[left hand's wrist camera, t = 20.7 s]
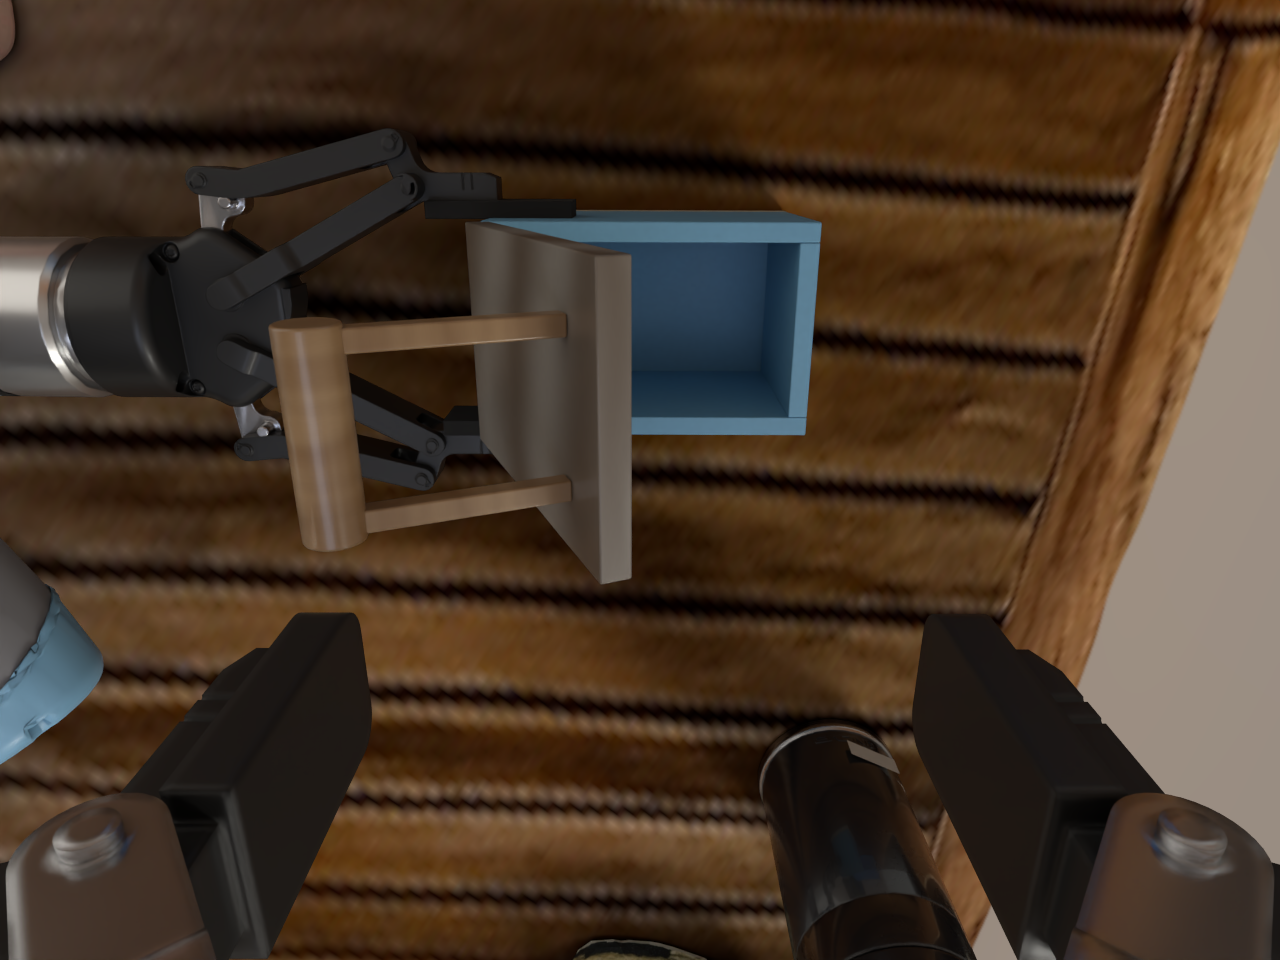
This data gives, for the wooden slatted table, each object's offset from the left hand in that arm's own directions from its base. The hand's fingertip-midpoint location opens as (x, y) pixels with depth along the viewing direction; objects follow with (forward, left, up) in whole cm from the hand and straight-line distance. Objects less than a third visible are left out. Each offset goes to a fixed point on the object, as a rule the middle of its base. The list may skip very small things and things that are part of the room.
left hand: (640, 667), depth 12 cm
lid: (-1, +3, -19) cm, 19 cm away
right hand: (-1, +3, -29) cm, 30 cm away
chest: (0, 0, -36) cm, 36 cm away
